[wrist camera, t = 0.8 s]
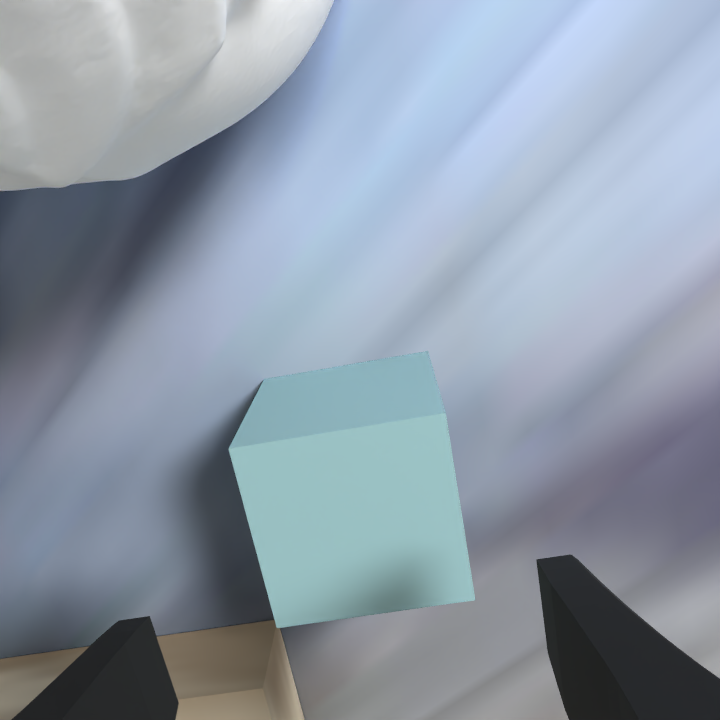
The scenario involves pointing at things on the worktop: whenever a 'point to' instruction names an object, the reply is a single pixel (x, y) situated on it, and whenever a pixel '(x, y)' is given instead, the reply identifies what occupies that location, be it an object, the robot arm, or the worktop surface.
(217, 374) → the worktop surface
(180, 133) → the decorative rooster
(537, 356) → the worktop surface
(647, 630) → the robot arm
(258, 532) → the teal block
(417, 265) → the worktop surface
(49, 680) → the birch plinth
